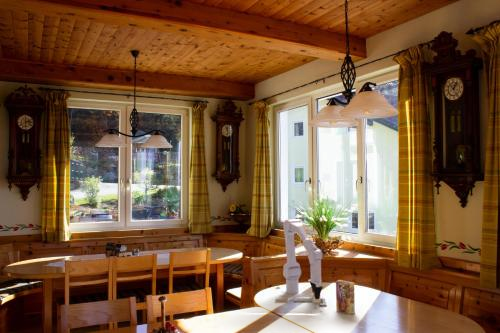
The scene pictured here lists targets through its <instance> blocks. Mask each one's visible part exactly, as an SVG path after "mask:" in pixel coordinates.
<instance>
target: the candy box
mask: <svg viewBox="0 0 500 333" xmlns="http://www.w3.org/2000/svg"><path fill="white" fill-rule="evenodd" d="M335 296H336V298H335V299H336V303H335V304H336V308H335V310H336V311H337V312H341V313H345V314H348V315H351V314H355V313H356V311H355V310H356V309H355V282H353V281H348V280H343V279H339V280H335Z"/></svg>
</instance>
